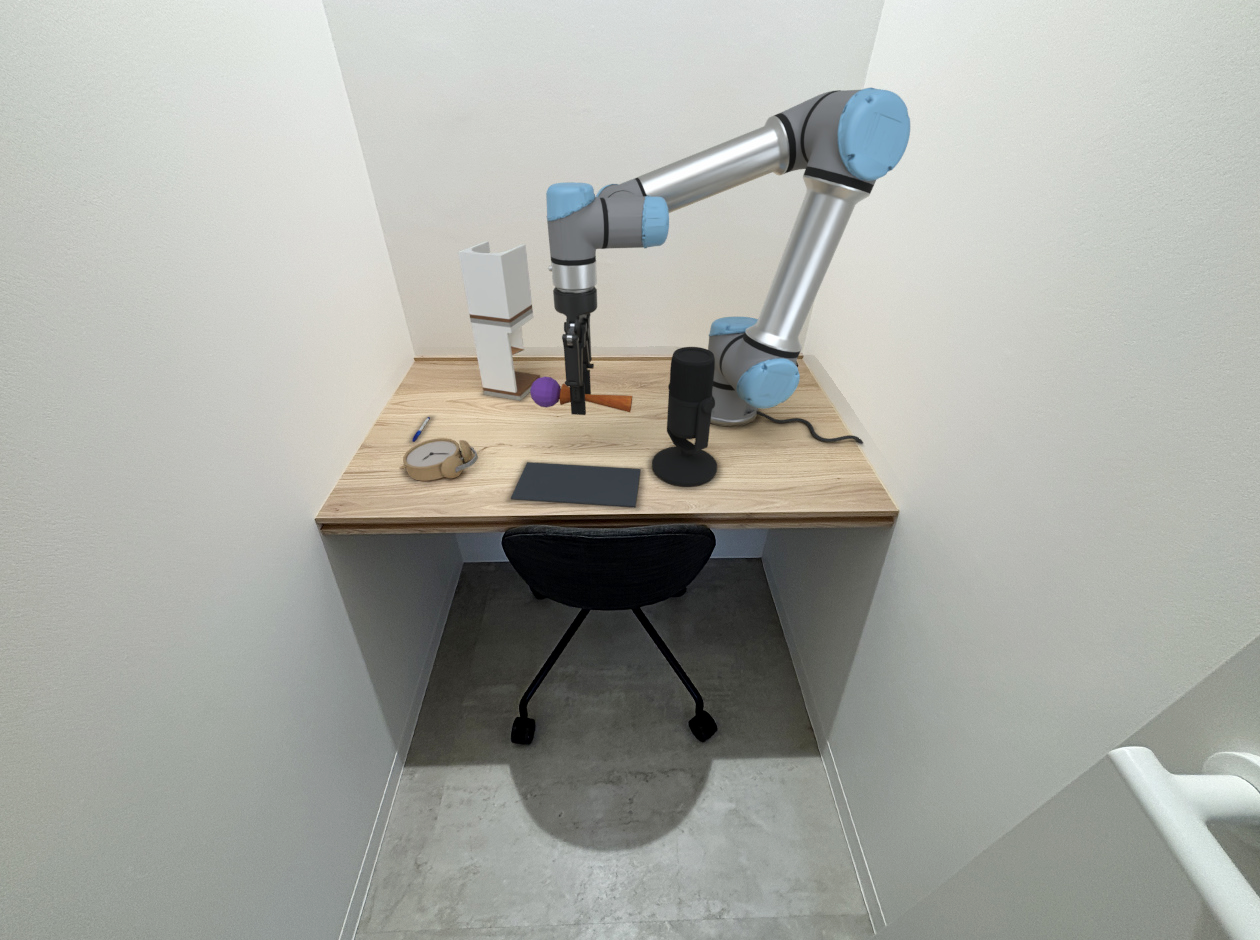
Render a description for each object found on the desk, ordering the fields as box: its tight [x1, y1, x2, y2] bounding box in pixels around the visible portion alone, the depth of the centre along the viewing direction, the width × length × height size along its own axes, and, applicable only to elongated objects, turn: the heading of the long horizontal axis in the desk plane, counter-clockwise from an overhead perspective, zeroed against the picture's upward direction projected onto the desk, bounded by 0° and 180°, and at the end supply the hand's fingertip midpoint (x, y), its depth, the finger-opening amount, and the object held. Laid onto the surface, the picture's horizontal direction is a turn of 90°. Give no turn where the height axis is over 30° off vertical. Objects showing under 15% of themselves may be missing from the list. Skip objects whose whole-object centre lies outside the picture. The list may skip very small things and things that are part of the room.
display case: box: [457, 241, 541, 401], centre depth 124 cm, size 11×11×35 cm
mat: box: [510, 461, 642, 508], centre depth 100 cm, size 24×12×1 cm, turn 84°
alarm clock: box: [399, 437, 478, 482], centre depth 104 cm, size 11×5×15 cm
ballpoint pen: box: [411, 416, 430, 443], centre depth 117 cm, size 10×1×1 cm, turn 1°
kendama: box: [529, 376, 634, 413], centre depth 99 cm, size 6×6×20 cm
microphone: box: [651, 346, 718, 488], centre depth 98 cm, size 14×14×25 cm
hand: (581, 406), depth 100 cm, fingers closed on kendama, 5 cm apart
